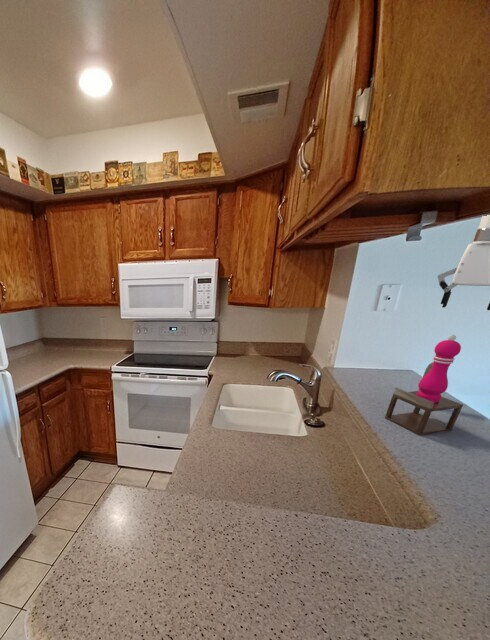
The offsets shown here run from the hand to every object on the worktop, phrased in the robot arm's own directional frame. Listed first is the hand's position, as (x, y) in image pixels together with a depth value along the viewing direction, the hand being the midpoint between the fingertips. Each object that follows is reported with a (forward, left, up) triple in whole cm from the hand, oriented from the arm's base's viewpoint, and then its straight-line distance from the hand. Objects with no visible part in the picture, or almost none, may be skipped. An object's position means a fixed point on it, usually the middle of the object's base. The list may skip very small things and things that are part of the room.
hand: (465, 308), depth 91 cm
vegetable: (-16, -13, -37) cm, 42 cm away
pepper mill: (0, 0, -28) cm, 28 cm away
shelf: (0, 0, -36) cm, 36 cm away
